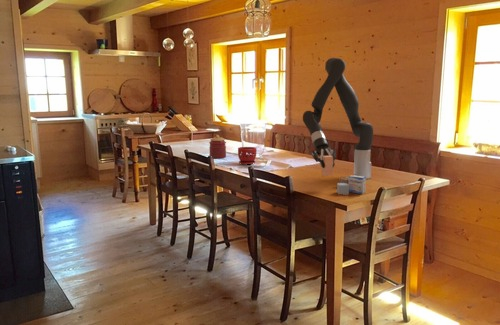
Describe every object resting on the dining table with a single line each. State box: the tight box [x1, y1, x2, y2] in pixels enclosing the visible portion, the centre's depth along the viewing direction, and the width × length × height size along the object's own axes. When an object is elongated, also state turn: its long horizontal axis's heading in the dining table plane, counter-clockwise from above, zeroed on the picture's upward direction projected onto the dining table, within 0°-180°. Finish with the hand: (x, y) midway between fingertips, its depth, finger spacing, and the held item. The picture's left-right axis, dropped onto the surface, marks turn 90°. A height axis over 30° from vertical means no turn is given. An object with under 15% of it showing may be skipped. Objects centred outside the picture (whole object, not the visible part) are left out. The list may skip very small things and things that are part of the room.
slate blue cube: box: [336, 182, 350, 196], centre depth 222 cm, size 5×5×5 cm
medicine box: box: [348, 174, 367, 195], centre depth 224 cm, size 8×4×9 cm, turn 56°
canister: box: [208, 134, 227, 160], centre depth 332 cm, size 13×13×18 cm
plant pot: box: [237, 146, 257, 166], centre depth 304 cm, size 13×13×12 cm
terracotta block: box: [321, 155, 334, 177], centre depth 228 cm, size 4×4×10 cm
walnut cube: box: [339, 176, 349, 185], centre depth 235 cm, size 5×5×5 cm
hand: (328, 166), depth 226 cm, fingers closed on terracotta block, 4 cm apart
